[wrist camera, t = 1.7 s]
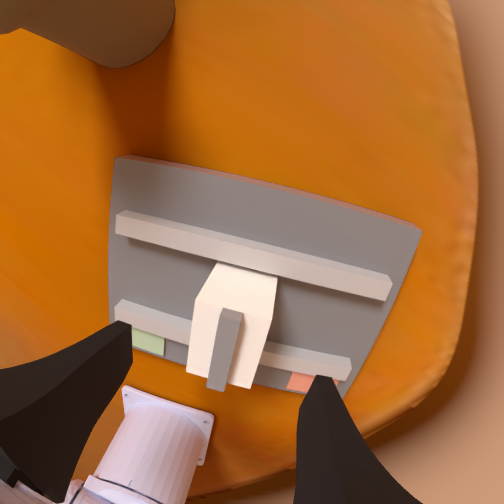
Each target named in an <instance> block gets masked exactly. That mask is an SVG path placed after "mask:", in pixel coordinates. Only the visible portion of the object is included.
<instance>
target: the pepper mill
mask: <svg viewBox="0 0 504 504" xmlns="http://www.w3.org/2000/svg"><path fill="white" fill-rule="evenodd" d="M174 14H175V5H174V0H0V34H6V33H10V32H12V31H14V30H17V29H19V28H23V29H25V30H28V31H30V32H32V33H35V34H37V35H39V36H42V37H44V38H46V39H48V40H50V41H53V42H55V43H57V44H59V45H61V46H63V47H65V48H67V49H69V50H72V51H74V52H76V53H78V54H80V55H82V56H84V57H86V58H88V59H90V60H92V61H94V62H95V63H97V64H99V65H102V66H105V67H109V68H121V67H127V66H129V65H132V64H134V63H137V62H139V61H141V60H142V59H144V58H145V57H147V56H148V55H149V54H151V53H152V52H154V51H155V49H156V48H157V47H158V46H159V45H160V44H161V42H162V41H163V40H164V39H165V38H166V36H167V34H168V32H169V30H170V28H171V26H172V24H173V20H174Z"/></svg>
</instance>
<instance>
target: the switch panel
mask: <svg viewBox="0 0 504 504" xmlns="http://www.w3.org/2000/svg"><path fill="white" fill-rule="evenodd" d="M421 234H422V230H420V229H419V228H418V227H417V226H416V225H414V224H413V223H411V222H408V221H405V220H402V219H399V218H396V217H393V216H389V215H386V214H383V213H380V212H377V211H373V210H370V209H367V208H363V207H360V206H356V205H353V204H350V203H346V202H343V201H339V200H335V199H332V198H328V197H325V196H321V195H317V194H313V193H310V192H306V191H302V190H298V189H294V188H290V187H286V186H282V185H278V184H274V183H270V182H266V181H262V180H257V179H253V178H249V177H244V176H240V175H235V174H231V173H226V172H221V171H216V170H212V169H207V168H202V167H197V166H192V165H186V164H181V163H176V162H170V161H165V160H159V159H153V158H147V157H141V156H135V155H123V156H118V157H115V162H114V171H113V181H112V192H111V205H110V222H109V250H108V290H109V318H110V324H112V323H114V322H116V321H117V320H120V321H123V322H125V323H128V324H131V325H132V348H135V349H138V350H141V351H144V352H146V353H149V354H152V355H155V356H158V357H161V358H164V359H167V360H170V361H173V362H177V363H180V364H183V365H186V366H187V359H188V351H189V342H190V335H191V327H192V319H193V312H194V305H195V299H196V298H197V296H198V294H199V293H200V291H201V289H202V287H203V286H204V284H205V282H206V281H207V279H208V277H209V276H210V274H211V272H212V270H213V269H214V267H215V265H216V264H217V262H218V260H219V261H223V262H227V263H231V264H235V265H238V266H242V267H246V268H250V269H254V270H258V271H262V272H266V273H270V274H274V275H278V279H277V286H276V294H275V301H274V308H273V316H272V321H271V324H270V328H269V331H268V334H267V337H266V341H265V344H264V347H263V350H262V353H261V357H260V360H259V363H258V366H257V369H256V372H255V375H254V379H253V382H252V383H253V384H257V385H262V386H266V387H271V388H276V389H280V390H285V391H290V392H295V393H301V394H307V392H308V390H309V388H310V386H311V384H312V382H313V380H314V378H315V376H316V374H317V375H323V376H328V377H332V379H333V381H334V383H335V385H336V387H337V389H338V392H339V394H340V396H341V398H342V399H343V398H344V396H345V394H346V393H347V391H348V389H349V388H350V386H351V384H352V383H353V381H354V379H355V377H356V376H357V374H358V372H359V370H360V368H361V367H362V365H363V363H364V361H365V359H366V357H367V356H368V354H369V352H370V350H371V348H372V346H373V344H374V342H375V340H376V338H377V336H378V334H379V332H380V330H381V328H382V326H383V324H384V322H385V320H386V318H387V316H388V314H389V312H390V310H391V307H392V305H393V303H394V301H395V299H396V296H397V294H398V292H399V290H400V287H401V285H402V283H403V280H404V278H405V275H406V273H407V271H408V268H409V266H410V263H411V261H412V258H413V256H414V253H415V250H416V248H417V245H418V242H419V240H420V237H421Z"/></svg>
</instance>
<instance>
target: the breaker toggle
mask: <svg viewBox="0 0 504 504" xmlns="http://www.w3.org/2000/svg"><path fill="white" fill-rule="evenodd" d="M277 279H278V275H274V274H270V273H266V272H262V271H258V270H254V269H250V268H246V267H242V266H238V265H235V264H231V263H227V262H223V261H219V260H218V262H217V264H216V265H215V267H214V269H213V270H212V272H211V274H210V276H209V277H208V279H207V281H206V282H205V284H204V286H203V287H202V289H201V291H200V293H199V294H198V296H197V298H196V299H195V305H194V312H193V319H192V327H191V335H190V342H189V351H188V359H187V367H186V372H189V373H192V374H195V375H199V376H202V377H206V378H208V379H207V385H206V388H210V389H213V390H217V391H221V392H224V390H225V386H226V383H228V384H232V385H236V386H240V387H244V388H248V389H250V388H251V385H252V382H253V379H254V375H255V372H256V369H257V366H258V363H259V360H260V357H261V353H262V350H263V347H264V344H265V341H266V337H267V334H268V331H269V328H270V324H271V321H272V316H273V308H274V301H275V294H276V286H277Z"/></svg>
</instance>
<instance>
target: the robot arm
mask: <svg viewBox="0 0 504 504" xmlns="http://www.w3.org/2000/svg"><path fill="white" fill-rule="evenodd" d="M132 363H133V353H132V325H131V324H128V323H125V322H123V321H120V320H117V321H116V322H114V323H112V324H110V325H108V326H107V327H105V328H103V329H101V330H99V331H98V332H96V333H94V334H92V335H91V336H89V337H87V338H85V339H83V340H81V341H79V342H78V343H76V344H74V345H71V346H69V347H67V348H65V349H63V350H61V351H59V352H57V353H54V354H52V355H50V356H47V357H44V358H42V359H39V360H36V361H33V362H30V363H26V364H22V365H18V366H15V367H10V368H5V369H0V504H185V501H186V498H187V494H188V491H189V488H190V485H191V482H192V478H193V475H194V472H195V469H196V466H197V465H203V464H204V460H205V456H206V452H207V448H208V443H209V439H210V435H211V431H212V426H213V422H214V415H212V414H211V413H208V412H205V411H201V410H198V409H194V408H191V407H187V406H184V405H181V404H178V403H175V402H172V401H169V400H166V399H163V398H160V397H157V396H154V395H151V394H148V393H146V392H143V391H140V390H137V389H135V388H132V387H130V386H123V388H122V396H123V404H124V412H125V418H124V420H123V422H122V423H121V425H120V427H119V429H118V431H117V432H116V434H115V436H114V438H113V440H112V442H111V443H110V445H109V447H108V449H107V451H106V453H105V454H104V456H103V458H102V460H101V462H100V464H99V466H98V468H97V469H96V471H95V473H94V475H93V476H92V475H89V477H88V478H87V480H86V482H84V481H82V480H80V479H76V480H72V481H71V478H72V476H73V473H74V470H75V468H76V465H77V462H78V460H79V458H80V455H81V453H82V451H83V448H84V446H85V444H86V442H87V440H88V438H89V436H90V433H91V431H92V429H93V427H94V426H95V424H96V422H97V421H98V419H99V418H100V416H101V414H102V413H103V411H104V410H105V408H106V407H107V405H108V404H109V402H110V401H111V400H112V398H113V397H114V395H115V394H116V392H117V390H118V389H119V387H120V386H121V384H122V383H123V381H124V379H125V377H126V375H127V373H128V371H129V369H130V367H131V365H132ZM296 471H297V472H296V488H295V496H294V502H293V504H422V503H421V502H420V501H418V500H417V499H415V498H414V497H413V496H412V495H411V494H410V493H409V492H408V491H406V490H405V489H404V488H403V487H402V486H401V485H400V484H399V483H398V482H397V481H396V480H395V479H394V478H393V477H392V476H391V475H390V473H389V472H388V471H387V470H386V469H385V468H384V467H383V466H382V464H381V463H380V462H379V461H378V459H377V458H376V457H375V455H374V454H373V453H372V451H371V450H370V448H369V447H368V446H367V444H366V442H365V441H364V439H363V437H362V436H361V434H360V432H359V431H358V429H357V427H356V425H355V424H354V422H353V420H352V418H351V416H350V414H349V412H348V410H347V408H346V406H345V404H344V402H343V400H342V398H341V396H340V394H339V392H338V389H337V387H336V385H335V383H334V381H333V379H332V377H328V376H323V375H317V374H316V376H315V378H314V380H313V382H312V384H311V386H310V388H309V390H308V392H307V394H306V396H305V398H304V400H303V402H302V404H301V406H300V408H299V416H298V424H297V464H296ZM36 492H37V493H38V494H37V493H36ZM39 494H40V495H42V496H44V497H45V498H47V499H49V500H51V501H52V502H53V503H52V502H50V501H48V500H47V499H45V498H44V497H42V496H40V495H39Z"/></svg>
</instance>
